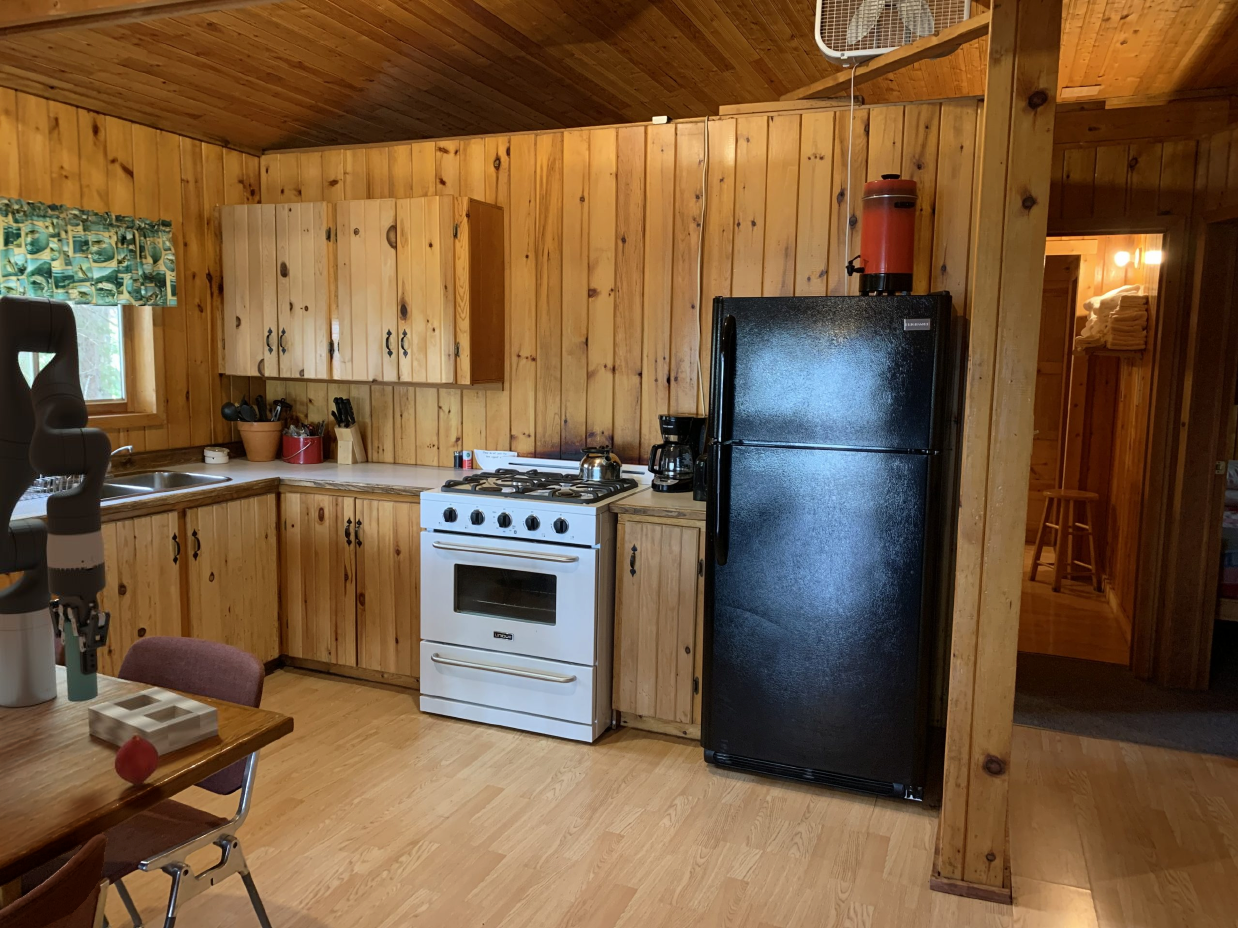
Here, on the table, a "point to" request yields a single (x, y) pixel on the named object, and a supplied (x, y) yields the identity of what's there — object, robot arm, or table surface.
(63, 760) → the table surface
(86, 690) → the pin
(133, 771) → the onion
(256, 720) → the table surface
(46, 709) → the table surface
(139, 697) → the hole board
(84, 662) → the robot arm
